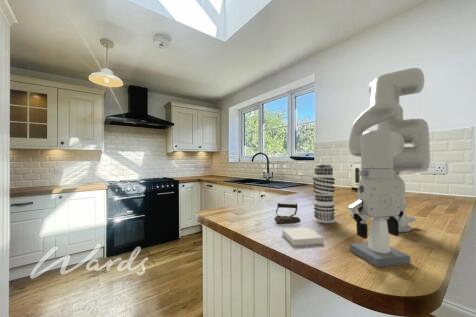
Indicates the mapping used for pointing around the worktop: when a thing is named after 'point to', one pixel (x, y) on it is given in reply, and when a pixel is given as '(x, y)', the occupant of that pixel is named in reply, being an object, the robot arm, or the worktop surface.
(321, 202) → the decorative candle
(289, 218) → the clothes iron
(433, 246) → the worktop surface
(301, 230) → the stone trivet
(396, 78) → the robot arm
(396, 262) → the plate
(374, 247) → the salt shaker
